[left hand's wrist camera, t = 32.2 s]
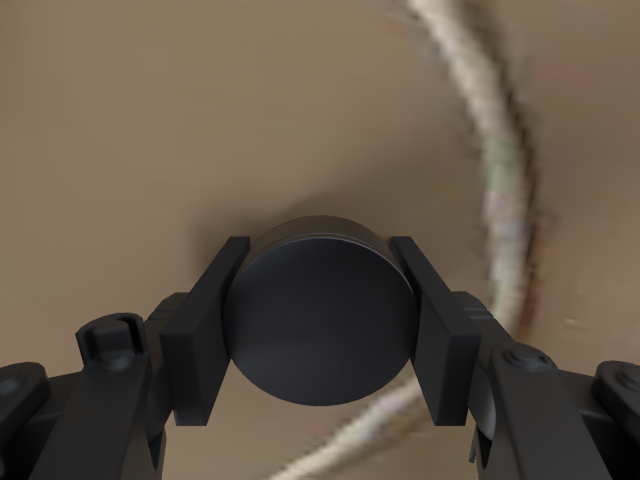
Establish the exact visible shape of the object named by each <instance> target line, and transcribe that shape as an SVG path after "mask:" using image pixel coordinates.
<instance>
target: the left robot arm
mask: <svg viewBox="0 0 640 480" xmlns="http://www.w3.org/2000/svg"><path fill="white" fill-rule="evenodd" d="M249 251H250V237H230V238H229V240H228V241H227V242H226V244H225V245H224V246H223V248H222V249H221V250H220V252H219V253H218V254H217V256H216V257H215V259H214V260H213V261H212V263H211V264H210V265H209V267H208V268H207V269H206V271H205V272H204V273H203V275H202V276H201V278H200V279H199V280H198V282H197V283H196V284H195V286H194V287H193V288H192V290H191V291H190V292H189V293H174V294H172V295H171V296H169V297H168V298H166V299H164V300H163V301H162V302H161V303H160V304H159V305H158V306H157V308H156V309H155V310H154V312H152V313H151V315H150V316H149V317H148V320H146V321H145V322H144V323H143V318H142V317H140V316H139V315H138V314H133V313H115V314H111V315H107V316H103V317H100V318H98V319H95V320H93V321H91V322H89V323H88V324H86V325H84V326H83V327H81V328H80V329H79V330H78V332H77V333H76V334H75V335H76V339H77V342H78V346H79V349H80V353H81V356H82V360H83V363H84V367H83V369H82V371H80V372H76V373H71V374H66V375H61V376H56V377H51V378H48V377H47V374H46V371H45V368H44V367H43V366H42V365H41V364H39V363H34V362H24V363H17V364H12V365H8V366H7V367H6V366H5V367H2V368H0V480H161V478H162V470H163V462H164V454H165V446H166V432H165V427H164V425H165V423H166V421H167V419H168V417H169V415H170V413H171V411H172V409H173V412H174V417H175V423H176V426H206V425H207V422H208V419H209V417H210V414H211V411H212V409H213V406H214V403H215V400H216V398H217V395H218V392H219V390H220V387H221V384H222V382H223V379H224V376H225V373H226V371H227V368H228V365H229V363H230V360H231V357H230V355H229V352H228V350H227V348H226V345H225V341H224V338H223V331H222V310H223V304H224V300H225V298H226V295H227V292H228V290H229V288H230V286H231V284H232V282H233V280H234V278H235V276H236V274H237V272H238V270H239V268H240V267H241V265H242V263H243V261H244V259H245V257H246V255H247V253H248V252H249ZM391 251H392V252H393V254H394V256H395V258H396V260H397V261H398V263H399V265H400V267H401V269H402V271H403V273H404V275H405V277H406V279H407V281H408V282H409V284H410V286H411V288H412V290H413V293H414V295H415V298H416V301H417V306H418V311H419V330H418V337H417V340H416V344H415V347H414V349H413V352H412V354H411V356H410V360H411V363H412V365H413V368H414V371H415V374H416V376H417V379H418V382H419V384H420V387H421V390H422V392H423V395H424V398H425V401H426V403H427V406H428V409H429V411H430V414H431V417H432V419H433V422H434V425H435V426H465V423H466V418H467V413H468V408H469V410H470V412H471V414H472V415H473V417H474V419H475V421H476V427H475V432H474V437H473V442H472V447H471V452H470V458H469V462H472V463H474V460H475V455H476V461H477V469H478V477H479V480H640V366H638V365H634V364H632V363H628V362H620V361H605V362H602V363H601V364H599V365H598V367H597V370H596V373H595V376H594V377H592V376H587V375H582V374H577V373H572V372H568V371H563V370H559V369H558V368H557V366H556V365H555V363H554V362H553V361H552V360H551V358H550V357H548V356H547V355H546V354H544V353H543V352H541V351H540V350H538V349H536V348H533V347H531V346H529V345H525V344H521V343H518V342H515V341H514V340H513V339H512V338H511V336H510V335H509V334H508V333H507V332H506V331H505V329H504V328H503V327H502V326H501V325H500V324H499V322H498V321H497V320H496V319H494V317H493V315H492V314H491V313H490V312H489V311H487V308H486V307H485V306H484V305H483V304H482V303H481V301H480V300H479V299H477V298H475V297H474V296H472V295H471V294H469V293H467V292H451V291H450V290H449V288H448V287H447V286H446V284H445V283H444V282H443V280H442V279H441V278H440V276H439V275H438V273H437V272H436V271H435V269H434V268H433V267H432V265H431V264H430V263H429V261H428V260H427V259H426V257H425V256H424V255H423V253H422V252H421V250H420V249H419V248H418V246H417V245H416V244H415V242H414V241H413V240H412V238H411V237H391Z"/></svg>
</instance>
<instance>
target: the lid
mask: <svg viewBox="0 0 640 480" xmlns="http://www.w3.org/2000/svg"><path fill="white" fill-rule="evenodd" d="M418 330H419V311H418V306H417V301H416V298H415V295H414V293H413V290H412V288H411V286H410V284H409V282H408V281H407V279H406V277H405V275H404V273H403V271H402V269H401V267H400V265H399V263H398V261H397V260H396V258H395V256H394V254H393V252H392V251H391V250H390V248H389V247H388V246H387V244H386V243H385V242H384V241H383V240H382V239H381V238H380V237H379V236H377V235H376V234H375V233H373V232H372V231H371V230H369V229H367V228H366V227H364V226H362V225H360V224H358V223H356V222H353V221H350V220H347V219H344V218H340V217H334V216H307V217H301V218H297V219H293V220H290V221H288V222H285V223H283V224H280V225H279V226H277V227H275V228H273V229H271V230H270V231H269V232H267V233H266V234H265V235H263V236H262V237H261V238H260V239H259V240H258V241H257V242H256V243H255V244H254V245H253V247H252V248H251V249H250V251H249V252H248V253H247V255H246V257H245V259H244V261H243V263H242V265H241V267H240V268H239V270H238V272H237V274H236V276H235V278H234V280H233V282H232V284H231V286H230V288H229V290H228V292H227V295H226V298H225V300H224V304H223V310H222V331H223V338H224V341H225V345H226V348H227V350H228V352H229V355H230V357H231V358H232V360H233V362H234V363H235V365H236V366H237V368H238V369H239V370H240V371H241V372H242V374H243V375H244V376H245V377H246V378H247V379H248V380H250V381H251V382H252V383H253V384H254V385H256V386H257V387H258V388H260V389H261V390H263V391H265V392H267V393H268V394H270V395H272V396H275V397H277V398H279V399H282V400H285V401H288V402H291V403H296V404H301V405H309V406H332V405H340V404H344V403H349V402H352V401H356V400H359V399H361V398H364V397H366V396H368V395H370V394H372V393H374V392H376V391H377V390H379V389H381V388H382V387H384V386H385V385H386V384H387V383H389V382H390V381H391V380H392V379H393V378H394V377H395V376H396V375H397V374H398V373H399V372H400V371H401V370H402V368H403V367H404V366H405V364H406V363H407V361H408V360H409V358H410V356H411V354H412V352H413V349H414V347H415V344H416V340H417V337H418Z"/></svg>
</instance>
